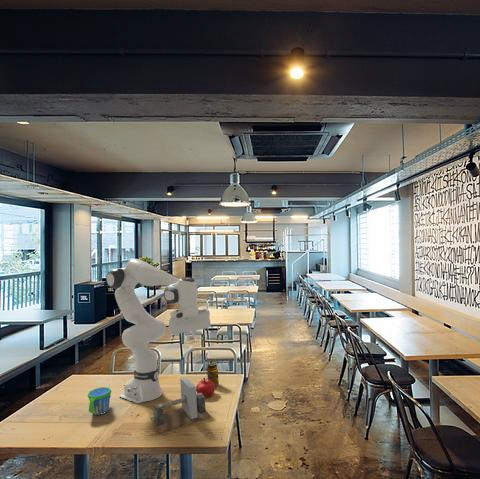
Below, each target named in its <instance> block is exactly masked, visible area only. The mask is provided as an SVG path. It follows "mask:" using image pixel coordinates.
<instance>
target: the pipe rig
mask: <svg viewBox="0 0 480 479" xmlns="http://www.w3.org/2000/svg"><path fill="white" fill-rule="evenodd" d="M196 401H197V418H194V419H190V417H189V416H188V415H187V414H186V412H185V411H184V410H183V408H182V407H181V408H178V409H175V410H174V409H173V410H172V411H168V412H164V409H165V408H169V407H172V406H176V405H179V404H180V405H181V404H182V403H184V402H187V397H184V398H178V399H174V400H170V401H167V402H162V403H159V404H158V403H157V404H154V405H153V416H151V417H150V421H151V422H152V424H153V426H154V427H155V430H156V431H157V433H158V434H162V433H164V432H168V431H171V430H174V429H178V428H181V427H184V426H186V425H187V426H188V425H190V424H191V425H192V424H193V423H194V424H195V423H197V422H201V421H203V420H206V419H210V418H211V414H210V413H209V412H208V411H207V410H206V397H205V396H204V395H203V394H202V393H199V394H197V393H196Z"/></svg>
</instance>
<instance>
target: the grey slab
mask: <svg viewBox="0 0 480 479" xmlns="http://www.w3.org/2000/svg"><path fill="white" fill-rule="evenodd" d="M179 381H180V394H181V395H180V396H181V398H184V397H187V402H184V403H181V408H183V410H184V411H185V412H186V414H187V415H188V416H189V417H190V419H194V418H197V401H196V394H197V392H196V386H197V385H195V384H194V383H193V382H192V381H191V380H190V379H189V378H188V377H187V376H185V377H181V378H180V380H179ZM181 398H180V399H181Z"/></svg>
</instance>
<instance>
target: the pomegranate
mask: <svg viewBox="0 0 480 479" xmlns="http://www.w3.org/2000/svg"><path fill="white" fill-rule="evenodd" d="M195 386H196V394H199V393H202V394H203V395H204V396H205V398H208V397H209V398H210V397H211V396H213V394H215V390H216V388H215V384H214V382H212V380H211V381H210V380H208V377H207V378H205V377H202V378H201V380H200V381H198V383H197V384H196V385H195Z"/></svg>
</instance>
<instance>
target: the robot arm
mask: <svg viewBox="0 0 480 479" xmlns="http://www.w3.org/2000/svg"><path fill="white" fill-rule="evenodd" d="M105 281H106V283H107V286H108V287H109V288H110V289H116V290H115V291H114V297H115V300H116V303H117V306H118V308H119V310H120V312H121V314H122V316H123V318H124V319H125V321H127V322H129V323H131V324H134V325H132V326H130V327H128V328H126V329H125V330H123V332H122V333H121V342H122V343H123V345H124V346H125V347H126V348H128V349H130V350H131V351H132V353H133V355H134V360H135V370H134V371H132V375H133V377H132V378H131V379H129V381H127V382H126V383H125V385H124V388H123V389H124V390H123V392H121V393H120V395H119V398H120V397H121V398H120V399H122V398H124V399H123V400H125V399H127V400H126V401H128V400H129V402H131V401H133V402H132V403H135V404H141V403H144V402H149V401H153V400H156V399H158V398H160V397H161V396H162V395H163V392H162V388H161V384H160V378H159V367H158V354H157V353H156V352H155V351H154V350H153V349H150V347H149V344H150V343H152V342H156V341H158V340H159V339H161V338H163V337H164V336H165V335H166V333H167V326H166V324H165V322H164V321H163V320H161V319H158V318H156V317H154V316H152V315H151V314H150V313H149V312H148V311H146V309H145V307H144V306H143V305H142V303H141V301H140V299H139V297H138V296H137V294H136V291H135V289H138V288H140V286H141V285H143V286H146V287H153V286H165V288H164V290H163V298H164V300H165V302H167V303H168V304H169V305H176V304H179V307H178V308H177V309H175V310H172V311H171V312H170V313H169V314H170V318H169V320H168V332H169V334H170V335H178V334H182V333H183V334H185V336H186V340H187V341H188V342H189V341H190V342H191V341H195V337H196V334H197V331H199V330H204V329H210V327H211V326H212V325H211V319H210V316H211V315H210V314H211V313H210V310H209V309H208V308H207V309H206V308H204V309H199V303H198V294H199V293H198V286H197V281H196V279H195V278H193V277H189V276H188V277H187V276H184V277H179V276H176V275H174V274H172V273H169V272H167V271H165V270H162V269H159V268H157V267H155V266H153V264H150V263H148V262H146V261H144V260H141V259H139V258H132V259H130V260H129V261H127V263H126V266H124V267H121V268H120V267H119V268H114V269H111V270H110V271H108V272H107V274H106V276H105ZM190 332H191V333H192V334H191V335H189V334H190Z"/></svg>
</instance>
